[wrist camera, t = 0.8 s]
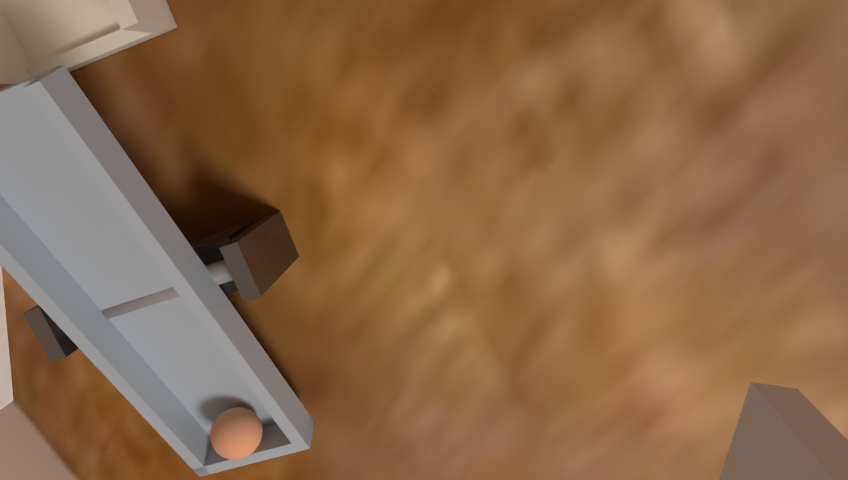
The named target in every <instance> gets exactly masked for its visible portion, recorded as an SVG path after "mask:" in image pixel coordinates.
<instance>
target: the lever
mask: <svg viewBox="0 0 848 480" xmlns="http://www.w3.org/2000/svg"><path fill="white" fill-rule="evenodd" d="M0 264H1V265H2V266H3V267H4V268H5V270H6V271H7V272H8V273H9V274H10V275H11V276H12V277H13V278H14V279H15V280H16V281H17V282H18V283H19V285H20V286H21V287H22V288H23V289H24V290H25V291H26V292H27V293H28V294H29V295H30V296H31V297H32V298H33V299H34V301H35V302H36V303H37V304H38V305H39V306H40V307H41V308H42V309H43V310H44V311H45V312H46V313H47V314H48V316H49V317H50V318H51V319H52V320H53V321H54V322H55V323H56V324H57V325H58V326H59V327H60V328H61V329H62V330H63V332H64V333H65V334H66V335H67V336H68V337H69V338H70V339H71V340H72V341H73V342H74V343H75V344H76V345H77V346H78V348H79V349H80V350H81V351H82V352H83V353H84V354H85V355H86V356H87V357H88V358H89V359H90V360H91V361H92V363H93V364H94V365H95V366H96V367H97V368H98V369H99V370H100V371H101V372H102V373H103V374H104V375H105V376H106V377H107V379H108V380H109V381H110V382H111V383H112V384H113V385H114V386H115V387H116V388H117V389H118V390H119V391H120V392H121V393H122V395H123V396H124V397H125V398H126V399H127V400H128V401H129V402H130V403H131V404H132V405H133V406H134V407H135V408H136V410H137V411H138V412H139V413H140V414H141V415H142V416H143V417H144V418H145V419H146V420H147V421H148V422H149V423H150V424H151V426H152V427H153V428H154V429H155V430H156V431H157V432H158V433H159V434H160V435H161V436H162V437H163V438H164V439H165V441H166V442H167V443H168V444H169V445H170V446H171V447H172V448H173V449H174V450H175V451H176V452H177V453H178V454H179V455H180V457H181V458H182V459H183V460H184V461H185V462H186V463H187V464H188V465H189V466H190V467H191V468H192V469H193V470H194V471H195V473H196V474H197V475H198V476H199V477H201V476H205V475H209V474H213V473H217V472H220V471H224V470H228V469H232V468H236V467H240V466H244V465H248V464H252V463H255V462H259V461H263V460H267V459H271V458H275V457H279V456H283V455H287V454H290V453H294V452H298V451H302V450H306V449H310V445H311V439H312V433H313V427H314V421H313V419H312V418H311V416H310V415H309V413H308V412H307V411H306V409H305V408H304V406H303V405H302V403H301V402H300V401H299V399H298V398H297V396H296V395H295V393H294V392H293V391H292V389H291V388H290V386H289V385H288V383H287V382H286V381H285V379H284V378H283V376H282V375H281V374H280V372H279V371H278V369H277V368H276V366H275V365H274V364H273V362H272V361H271V359H270V358H269V356H268V355H267V354H266V352H265V351H264V349H263V348H262V346H261V345H260V344H259V342H258V341H257V339H256V338H255V337H254V335H253V334H252V332H251V331H250V329H249V328H248V327H247V325H246V324H245V322H244V321H243V319H242V318H241V317H240V315H239V314H238V312H237V311H236V309H235V308H234V307H233V305H232V304H231V302H230V301H229V299H228V298H227V297H226V295H225V294H224V292H223V291H222V290H221V288H220V287H219V285H220V284H223V283H226V282H229V281H233V277H232V275H231V273H230V271H229V269H228V266H227V264H226V262H225V260H221V261H218V262H215V263H212V264H209V265H206V266H205V265H204V264H203V262H202V261H201V260H200V258H199V257H198V255H197V254H196V253H195V251H194V250H193V248H192V247H191V245H190V244H189V243H188V241H187V240H186V238H185V237H184V235H183V234H182V233H181V231H180V230H179V228H178V227H177V225H176V224H175V223H174V221H173V220H172V218H171V217H170V215H169V214H168V213H167V211H166V210H165V208H164V207H163V206H162V204H161V203H160V201H159V200H158V198H157V197H156V196H155V194H154V193H153V191H152V190H151V188H150V187H149V186H148V184H147V183H146V181H145V180H144V178H143V177H142V176H141V174H140V173H139V171H138V170H137V169H136V167H135V166H134V164H133V163H132V161H131V160H130V159H129V157H128V156H127V154H126V153H125V151H124V150H123V149H122V147H121V146H120V144H119V143H118V141H117V140H116V139H115V137H114V136H113V134H112V133H111V131H110V130H109V129H108V127H107V126H106V124H105V123H104V122H103V120H102V119H101V117H100V116H99V114H98V113H97V112H96V110H95V109H94V107H93V106H92V104H91V103H90V102H89V100H88V99H87V97H86V96H85V94H84V93H83V92H82V90H81V89H80V87H79V86H78V85H77V83H76V82H75V80H74V79H73V77H72V76H71V75H70V73H69V72H68V70H67V69H66V67H65V66H62V67H61V65H59V66H57V67H54V68H52V69H49V70H47V71H45V72H42V73H40V74H37V75H35V76H32V77H30V78H28V79H25V80H23V81H20V82H18V83H16V84H13V85H11V86H8V87H6V88H4V89H1V90H0ZM236 407H242V408H246V409H249V410H251V411H253V412H254V413H255V414H256V415H257V416H258V418H259V419H260V421H261V424H262V429H263V433H262V439H261V442H260V444H259V446H258V447H257V448H256V450H255V451H254V452H253V453H252V454H250V455H249V456H247V457H245V458H242V459H238V460H230V459H226V458H223V457H222V456H220V455H219V454H217V452H216V451H215V450H214V448H213V446H212V444H211V440H210V432H211V428H212V425H213V423H214V421H215V420H216V418H217V417H218V416H219V415H220V414H221V413H223V412H224V411H226V410H228V409H231V408H236Z"/></svg>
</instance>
